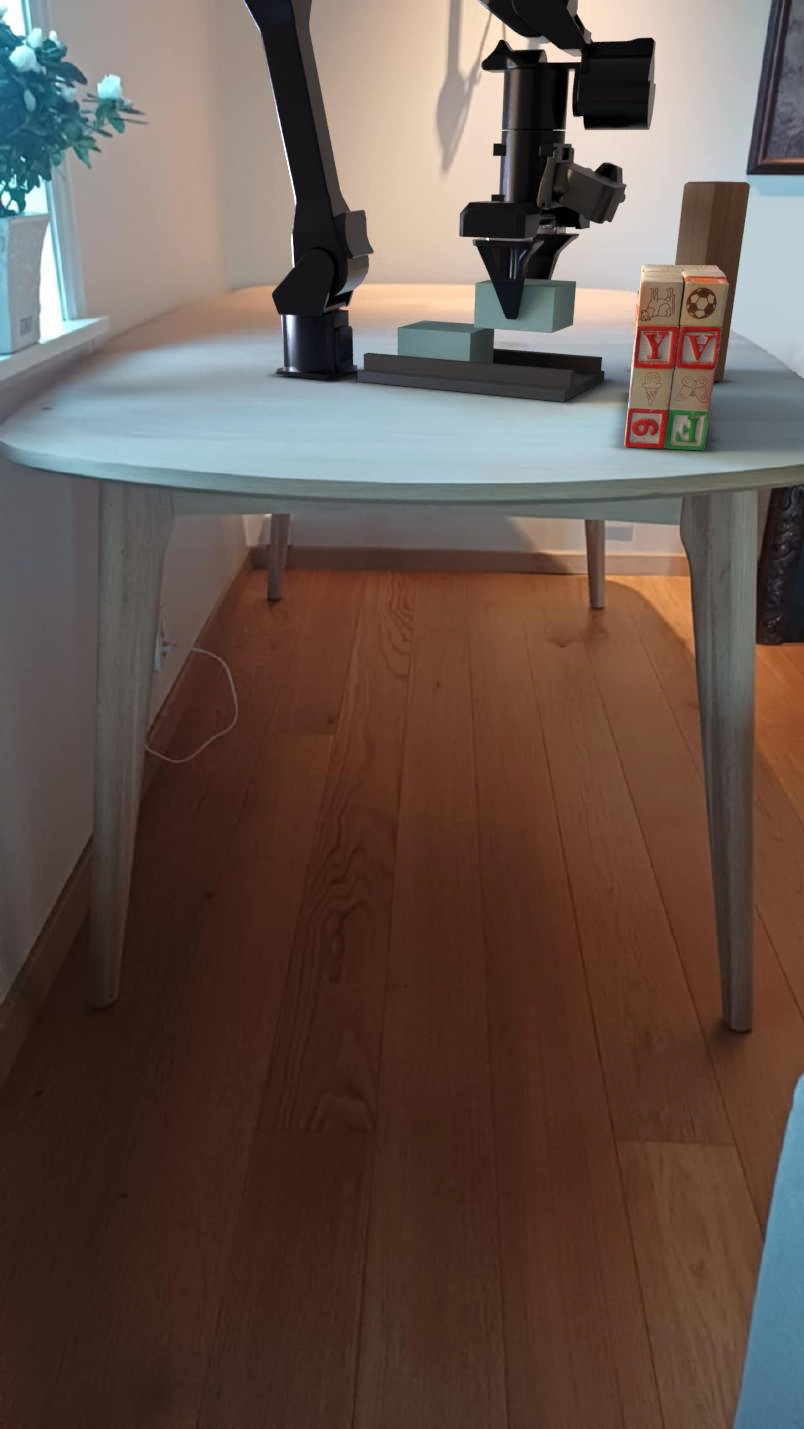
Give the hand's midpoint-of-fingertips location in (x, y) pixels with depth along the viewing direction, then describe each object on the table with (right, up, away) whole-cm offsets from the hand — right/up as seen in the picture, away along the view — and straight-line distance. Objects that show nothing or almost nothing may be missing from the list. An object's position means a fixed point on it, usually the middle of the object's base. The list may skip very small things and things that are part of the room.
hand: (523, 315), depth 101 cm
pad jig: (-4, -5, +5) cm, 8 cm away
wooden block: (+17, -4, +7) cm, 19 cm away
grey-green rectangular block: (0, -1, 0) cm, 1 cm away
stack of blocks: (+11, -13, -11) cm, 20 cm away
